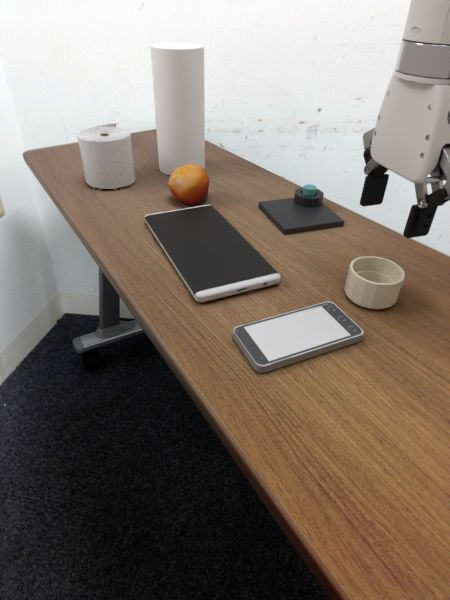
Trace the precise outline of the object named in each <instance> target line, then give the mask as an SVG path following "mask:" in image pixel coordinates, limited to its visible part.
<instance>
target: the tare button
mask: <svg viewBox="0 0 450 600" xmlns="http://www.w3.org/2000/svg"><path fill="white" fill-rule="evenodd" d="M302 188H303V192H302V194H303V195H306V196H316V191H317V189H318V187H317V186H316V185H315V184H304V185H303V187H302Z"/></svg>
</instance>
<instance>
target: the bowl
mask: <svg viewBox="0 0 450 600" xmlns="http://www.w3.org/2000/svg"><path fill="white" fill-rule="evenodd" d="M405 276H406V273H405V271H404V269H403V267H401V266H400V265H399V264H398V263H396V261H395V262H394V261H392V260H390V259H388V258H384V257H380V256H376V255H375V256H374V255H364V256H358V257H356V258H354V259H352V260H351V261H350V264H349V266H348V271H347V275H346V279H345V284H344V293H345V296H347V298H348V299H349V300H350V301H351V302H352V303H354V304H356V305H357V306H359V307H361V308H364V309H368V310H384V309H387V308H391V307H392V306H394V305H395V304H396V303H397V301H398V298H399V295H400V292H401V289H402V286H403V283H404V280H405Z"/></svg>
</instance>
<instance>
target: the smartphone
mask: <svg viewBox="0 0 450 600" xmlns="http://www.w3.org/2000/svg"><path fill="white" fill-rule="evenodd" d="M363 336H364V329H363V328H361V326H359V325H358V324H357V323H356V322H355V321H354V320H353V319H352V318H351V317H350V316H348V314H346V312H345V311H344V310H342V309H341V308H340V307H339V306H338V305H337V304H336V303H335V302H332V301H329V300H328V301H323V302H319V303H316V304H313V305H309V306H305V307H302V308H297V309H294V310H291V311H288V312H287V311H286V312H283V313H280V314H276V315H273V316H270V317H266V318H262V319H259V320H254V321H252V322H248V323H244V324H241V325H238V326H235V327H234V328H233V330H232V339H233V340H234V342H235V343H236V345H237V346H238V348H239V350H240V351H241V352H242V353H243V355H244V356H245V358H246V359H247V361H248V362H249V364H250V365H251V366H252V368H253V370H254V371H255V372H256V373H260V374H265V373H268V372H271V371H274V370H277V369H281V368H284V367H287V366H289V365H292V364H295V363H299V362H302V361H305V360H308V359H311V358H314V357H317V356H320V355H323V354H326V353H329V352H333V351H334V350H338V349H341V348H344V347H347V346H350V345H353V344H356V343H359V342H361V341H362V339H363Z"/></svg>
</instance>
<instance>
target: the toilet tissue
mask: <svg viewBox="0 0 450 600" xmlns="http://www.w3.org/2000/svg"><path fill="white" fill-rule="evenodd" d="M76 137H77V143H78V148H79V153H80V157H81V158H80V159H81V164H82V171H83V175H84V181H85V184H86V183H88V184H89V185H91V186H94V187H99V188H119V187H124V186H127V185H130V184H132V183H133V182H134V181H135V182H136V180H135V179H137V177H136V170H135V161H134V160H135V159H134V152H133V151H134V150H133V142H132V139H133V138H132V133H131V131H130V130H129V129H126V128H123V127H117V123H116V122H115V123H109V124H102V125H98V126H97V125H96V126H93V127H90V128H86V129H83V130H81V131H79V132H77V136H76ZM135 182H134V183H135ZM134 183H133V184H134ZM133 184H132V185H133ZM130 186H131V185H130ZM127 187H128V186H127ZM124 188H125V187H124Z"/></svg>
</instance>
